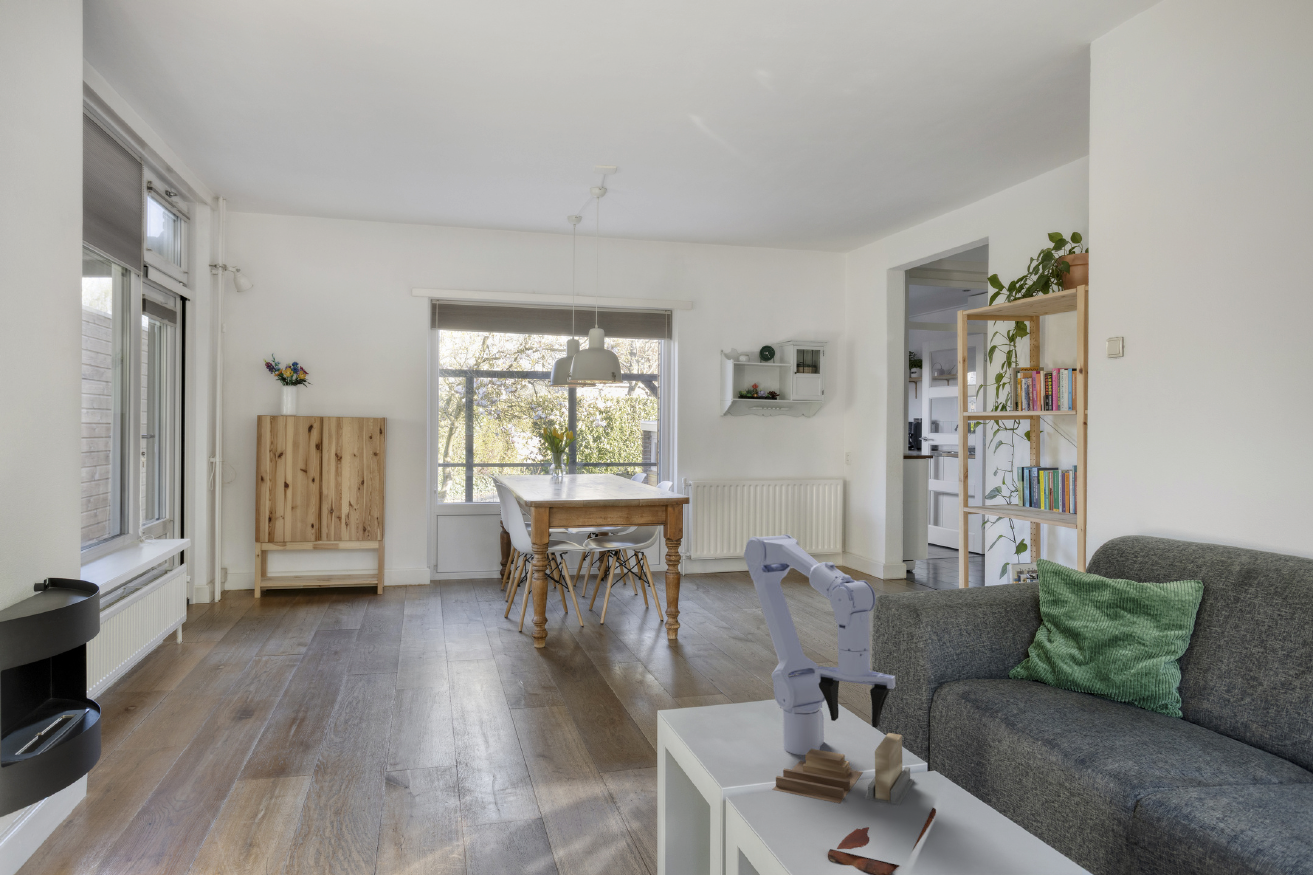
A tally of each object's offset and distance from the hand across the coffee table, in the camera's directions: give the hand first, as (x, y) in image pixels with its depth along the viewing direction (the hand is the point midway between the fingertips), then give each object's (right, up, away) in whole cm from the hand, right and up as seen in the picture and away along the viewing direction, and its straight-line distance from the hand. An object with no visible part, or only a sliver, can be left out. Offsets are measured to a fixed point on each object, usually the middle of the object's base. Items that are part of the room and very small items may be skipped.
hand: (855, 722), depth 147 cm
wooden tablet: (0, -11, -21) cm, 24 cm away
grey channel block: (+4, -10, -7) cm, 13 cm away
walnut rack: (-7, -10, -3) cm, 13 cm away
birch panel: (+4, -9, -7) cm, 12 cm away
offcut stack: (-5, -10, +1) cm, 11 cm away
